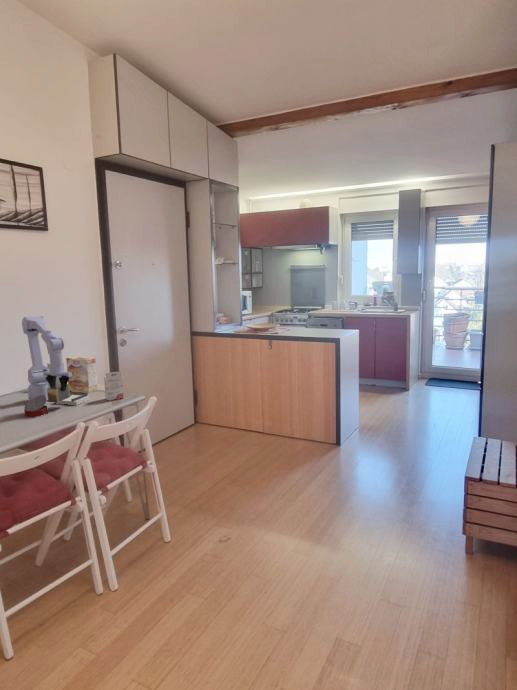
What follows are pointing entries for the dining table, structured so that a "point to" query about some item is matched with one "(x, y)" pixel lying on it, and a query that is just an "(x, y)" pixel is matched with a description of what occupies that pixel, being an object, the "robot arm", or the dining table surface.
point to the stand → (74, 399)
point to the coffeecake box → (82, 374)
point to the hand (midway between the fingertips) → (58, 390)
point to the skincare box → (56, 377)
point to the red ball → (36, 407)
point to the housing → (58, 393)
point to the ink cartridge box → (113, 386)
